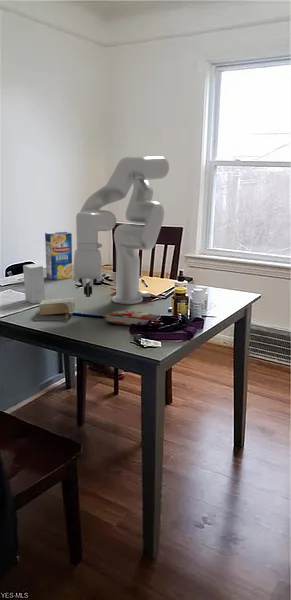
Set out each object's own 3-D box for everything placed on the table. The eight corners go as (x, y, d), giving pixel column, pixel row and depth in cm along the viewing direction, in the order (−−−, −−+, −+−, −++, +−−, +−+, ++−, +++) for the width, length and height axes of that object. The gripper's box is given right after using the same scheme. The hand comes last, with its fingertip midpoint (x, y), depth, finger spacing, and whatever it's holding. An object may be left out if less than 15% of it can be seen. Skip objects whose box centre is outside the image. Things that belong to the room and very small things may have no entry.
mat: (66, 311, 186) (66, 310, 186) (64, 320, 175) (64, 319, 174) (37, 311, 185) (37, 310, 185) (33, 321, 173) (33, 320, 173)
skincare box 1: (45, 302, 197) (44, 266, 193) (31, 304, 194) (30, 267, 190) (38, 297, 204) (36, 262, 200) (24, 299, 201) (22, 264, 197)
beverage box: (46, 277, 241) (44, 233, 235) (66, 275, 247) (65, 231, 241) (51, 280, 235) (50, 234, 229) (72, 277, 241) (71, 233, 235)
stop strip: (69, 310, 187) (69, 306, 187) (67, 321, 174) (67, 317, 173) (66, 310, 187) (66, 306, 187) (64, 321, 174) (64, 317, 173)
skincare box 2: (76, 308, 184) (44, 310, 185) (74, 297, 183) (42, 299, 183) (72, 313, 178) (40, 315, 178) (71, 301, 176) (38, 304, 177)
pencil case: (115, 317, 181) (115, 304, 180) (165, 324, 174) (165, 311, 173) (101, 325, 171) (101, 312, 170) (153, 333, 164) (154, 319, 163)
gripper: (108, 245, 179) (108, 293, 184) (66, 245, 177) (68, 293, 182) (108, 248, 172) (108, 298, 177) (65, 248, 170) (67, 299, 175)
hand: (88, 296), depth 179 cm, fingers closed
